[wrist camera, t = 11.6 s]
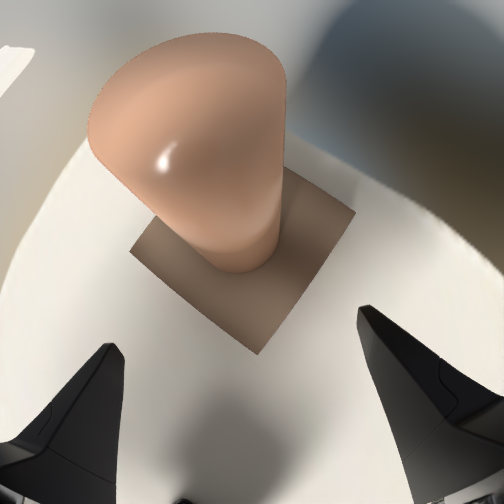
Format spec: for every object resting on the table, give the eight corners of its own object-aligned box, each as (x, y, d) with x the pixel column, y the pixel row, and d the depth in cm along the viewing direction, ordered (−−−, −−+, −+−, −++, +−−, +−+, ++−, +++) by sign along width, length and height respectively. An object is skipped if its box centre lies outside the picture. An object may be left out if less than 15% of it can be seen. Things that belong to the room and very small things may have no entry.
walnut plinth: (260, 349, 19) (257, 355, 16) (146, 260, 21) (129, 251, 18) (346, 226, 21) (356, 212, 18) (231, 154, 23) (225, 133, 20)
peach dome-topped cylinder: (220, 288, 17) (109, 224, 5) (185, 218, 19) (79, 89, 6) (294, 248, 18) (331, 111, 5) (254, 182, 19) (229, 17, 7)
